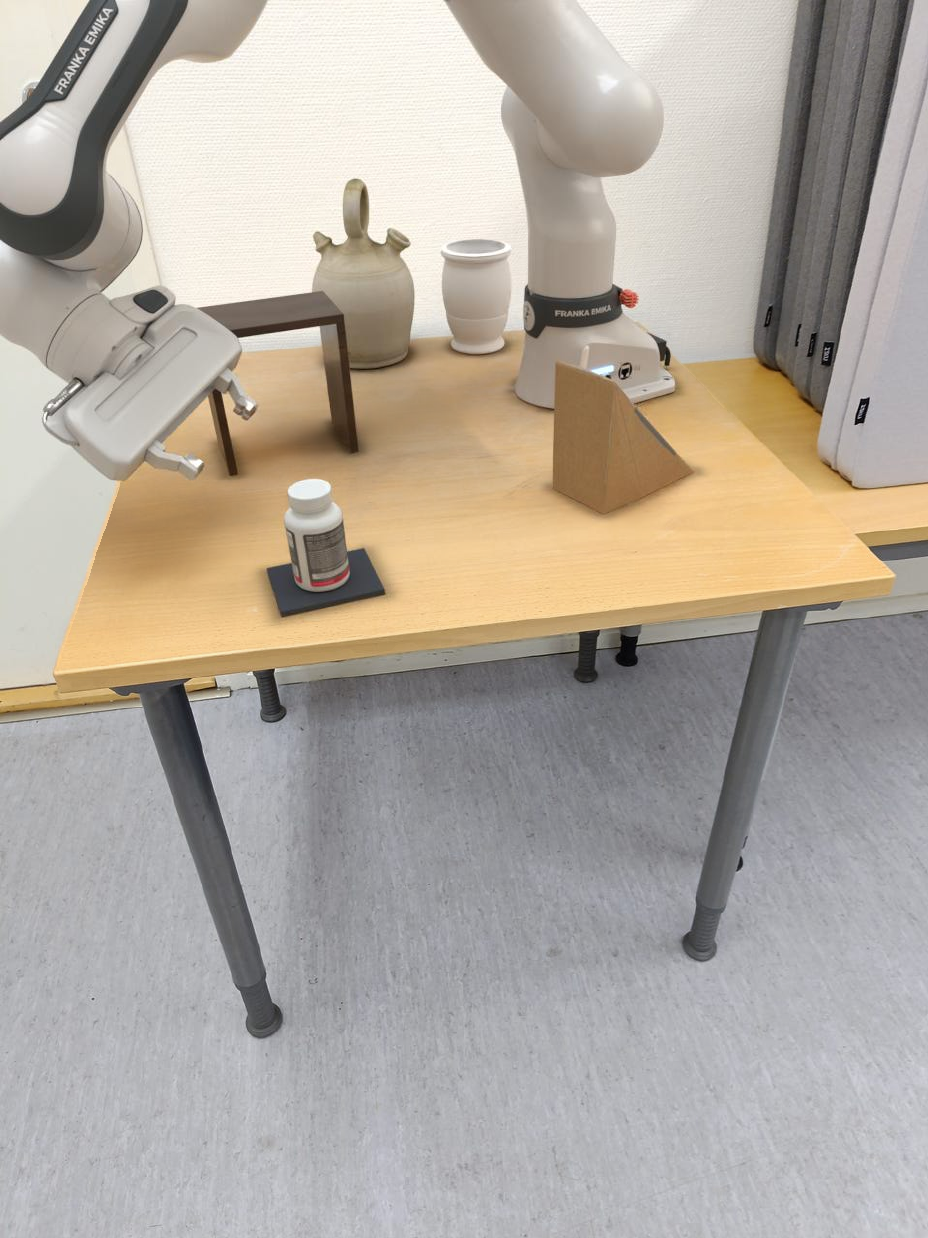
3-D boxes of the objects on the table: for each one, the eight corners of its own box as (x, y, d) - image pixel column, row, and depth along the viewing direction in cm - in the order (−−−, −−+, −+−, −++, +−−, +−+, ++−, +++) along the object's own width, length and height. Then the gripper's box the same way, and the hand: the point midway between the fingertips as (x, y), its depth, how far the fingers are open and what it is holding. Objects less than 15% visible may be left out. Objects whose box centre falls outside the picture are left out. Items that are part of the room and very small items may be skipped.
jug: (434, 344, 138) (426, 171, 123) (389, 379, 127) (373, 192, 112) (351, 334, 143) (334, 166, 128) (300, 366, 132) (275, 186, 117)
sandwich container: (697, 472, 101) (716, 344, 92) (605, 515, 93) (615, 381, 84) (641, 448, 106) (654, 325, 97) (550, 487, 99) (555, 358, 90)
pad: (364, 552, 89) (364, 547, 88) (385, 594, 83) (384, 589, 82) (267, 572, 86) (266, 567, 86) (281, 617, 80) (280, 611, 80)
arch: (217, 442, 111) (189, 308, 101) (339, 421, 115) (323, 290, 105) (229, 476, 103) (199, 334, 93) (358, 451, 108) (343, 313, 97)
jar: (520, 339, 139) (521, 240, 130) (495, 361, 131) (494, 257, 122) (461, 332, 143) (458, 235, 134) (433, 352, 135) (428, 251, 126)
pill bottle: (359, 567, 85) (348, 478, 79) (336, 597, 81) (323, 506, 75) (309, 559, 87) (295, 471, 81) (284, 588, 83) (268, 498, 77)
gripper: (30, 398, 74) (168, 495, 76) (173, 275, 85) (289, 363, 87) (28, 437, 79) (158, 527, 82) (163, 316, 90) (273, 399, 93)
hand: (227, 442), depth 85 cm, fingers open, 8 cm apart
